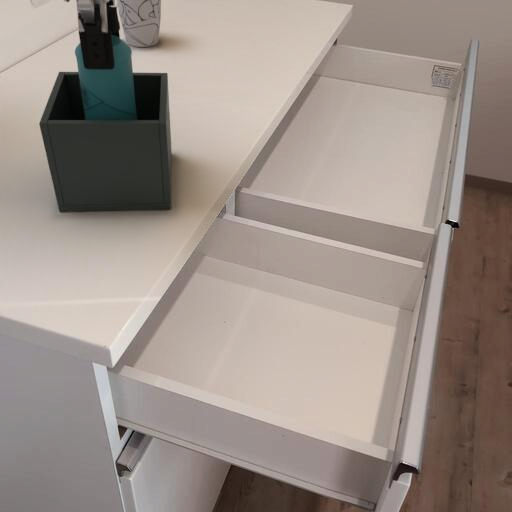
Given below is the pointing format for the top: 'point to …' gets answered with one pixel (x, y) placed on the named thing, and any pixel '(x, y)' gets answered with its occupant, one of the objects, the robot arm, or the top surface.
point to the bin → (109, 149)
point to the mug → (140, 21)
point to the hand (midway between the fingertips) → (103, 53)
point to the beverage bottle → (109, 80)
